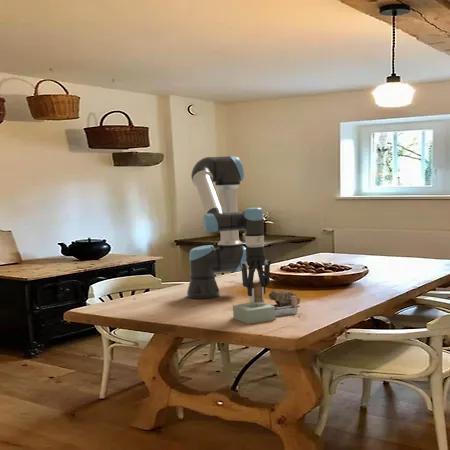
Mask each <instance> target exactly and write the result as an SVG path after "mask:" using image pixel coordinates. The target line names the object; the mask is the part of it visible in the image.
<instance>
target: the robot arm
mask: <svg viewBox="0 0 450 450" xmlns="http://www.w3.org/2000/svg"><path fill="white" fill-rule="evenodd" d="M190 176H191V181H192V184H193V186H194V187H196V190H197V192H198V196H199V198H200V201H201V204H202V207H203V210H204V213H205V214H204V215H203V217H202V225H203V230H204V231H205V232H208V233H209V232H211V233H212V232H213V233H216V232H217V233H218V232H220V233H219V235H220V240H219V241H218V242H217V247H215V246H214V245H212V244H207V245H200V246H196V247H193V248H191V249H190V250H189V257H188V260H189V277H190V279H189V284H188V287H187V291H186V294H187V295H186V296H187V297H186V298H189V299H194V300H195V299H196V300H207V299H214V298H218V297H219V296H220V288H219V286H218V283H217V281H216V273H217V274H219V273H230V272H233V273H235V272H240V271H241V278H242V286H243V287H244V288H247V289H246V290H247V296H248V297H249V303H253V302H255V301H254V288H252V285H253V282H254V276H255V272H256V271H257V275H258V279H259V281H258V282H261V287H262V303H265V295H266V287H267V286H268V285H270V284H271V283H270V282H271V280H270V276H271V275H270V274H271V273H270V272H271V265H272V260H269V259H266V257H265V253H266V252H265V246H264V245H265V234H264V230H265V229H264V218H265V217H264V210H263V208H262V207H246V208H245V209H244V210H243V211H239V209H238V188H239V187H240V186H241V182H243V181H244V178H245V177H244V176H245V171H244V167H243V162H242V160H241V159H240V157H238V156H234V155H233V156H230V155H229V156H206V157H203V158H202V159H200V160H198V161H197V162H196V164H194V166H193V168H192V170H191V175H190ZM215 187H216V188H217V189H218V193H217V190H216V188H215ZM239 231H244V232H245V234H244V235H245V237H244V239H245V240H244V241H245V246H246V247H245V246H244V245H243V242H242V241H241V240H240V236H239Z"/></svg>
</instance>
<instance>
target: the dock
mask: <svg viewBox="0 0 450 450" xmlns="http://www.w3.org/2000/svg"><path fill="white" fill-rule="evenodd" d="M275 308H276V306H274V305H271V304H266V303H265V302H264V303H262V302H253V303H250V302H248V303H240V304H233V305H232V311H233V312H232V314H233V315H232V316H233V319H235V320H238V321H240V322H243V323H245V324H247V325H250V324H254V323H255V324H256V323H262V322H268V321H274V320H275V321H276V317H275Z"/></svg>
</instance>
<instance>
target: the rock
mask: <svg viewBox="0 0 450 450" xmlns="http://www.w3.org/2000/svg"><path fill="white" fill-rule="evenodd" d="M291 296H296V297H297V306H298V305H300V303H301V298H299V296H298V295H297V293H296V292H293V291H290V290H275V289H274V290H271V291H270V292H269V294H268V298H269V300H271V301H274V303H275V304H277V305H279V307H284V306H292V299H291Z"/></svg>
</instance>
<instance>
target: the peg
mask: <svg viewBox="0 0 450 450" xmlns="http://www.w3.org/2000/svg"><path fill="white" fill-rule="evenodd" d="M252 288H254V301H255V302H262V287H261V282H260V281H253V285H252Z"/></svg>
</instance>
